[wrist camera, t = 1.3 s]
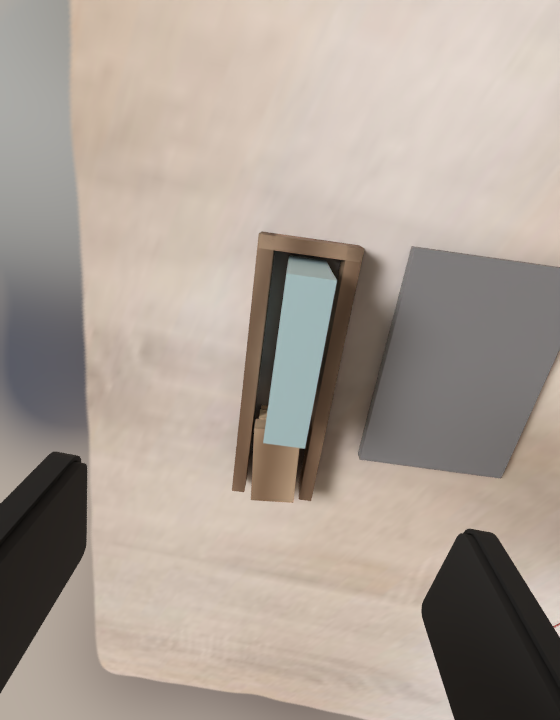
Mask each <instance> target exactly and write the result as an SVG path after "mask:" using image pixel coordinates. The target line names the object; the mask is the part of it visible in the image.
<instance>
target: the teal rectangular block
mask: <svg viewBox="0 0 560 720" xmlns="http://www.w3.org/2000/svg"><path fill="white" fill-rule="evenodd" d="M336 283H337V280H336V278H335V276H334V274H333V273H332V271H331V269H330V267H329V265H328V263H327V262H326V260H319V259H312V258H305V257H298V256H291V255H289V259H288V266H287V273H286V280H285V287H284V294H283V302H282V309H281V316H280V324H279V331H278V338H277V345H276V353H275V360H274V367H273V375H272V382H271V389H270V396H269V404H268V411H267V418H266V426H265V433H264V440H263V443H266V444H273V445H281V446H288V447H296V448H303V449H305V446H306V440H307V435H308V430H309V425H310V419H311V414H312V409H313V404H314V398H315V393H316V388H317V383H318V377H319V372H320V367H321V362H322V356H323V351H324V346H325V341H326V335H327V330H328V325H329V320H330V314H331V309H332V304H333V299H334V293H335V288H336Z"/></svg>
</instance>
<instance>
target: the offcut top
mask: <svg viewBox="0 0 560 720" xmlns="http://www.w3.org/2000/svg"><path fill="white" fill-rule="evenodd" d="M265 426H266V420H264V419H256V420H255V427H254V445H253V467H252V488H251V500H259V501H275V502H291V503H293V500H294V491H295V481H296V472H297V462H298V453H299V448H296V447H288V446H281V445H273V444H266V443H263V440H264V433H265Z"/></svg>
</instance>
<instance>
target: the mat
mask: <svg viewBox="0 0 560 720" xmlns="http://www.w3.org/2000/svg"><path fill="white" fill-rule="evenodd" d="M559 350H560V267H554V266H547V265H540V264H533V263H526V262H519V261H512V260H505V259H498V258H491V257H483V256H476V255H469V254H462V253H455V252H448V251H441V250H434V249H427V248H420V247H413V246H412V247H411V251H410V255H409V258H408V262H407V266H406V270H405V274H404V278H403V282H402V285H401V289H400V293H399V297H398V301H397V305H396V309H395V312H394V316H393V320H392V324H391V328H390V332H389V336H388V340H387V343H386V347H385V351H384V355H383V359H382V363H381V367H380V370H379V374H378V378H377V382H376V386H375V390H374V394H373V398H372V401H371V405H370V409H369V413H368V417H367V421H366V425H365V428H364V432H363V436H362V440H361V444H360V448H359V452H358V455H359V459H360V460H367V461H374V462H382V463H389V464H397V465H404V466H412V467H419V468H427V469H434V470H442V471H449V472H456V473H464V474H471V475H479V476H486V477H494V478H502V475H503V473H504V471H505V469H506V467H507V464H508V462H509V460H510V458H511V456H512V453H513V451H514V449H515V447H516V444H517V442H518V440H519V438H520V436H521V433H522V431H523V429H524V427H525V425H526V422H527V420H528V418H529V416H530V414H531V411H532V409H533V407H534V405H535V403H536V400H537V398H538V396H539V394H540V392H541V389H542V387H543V385H544V383H545V381H546V378H547V376H548V374H549V372H550V369H551V367H552V365H553V363H554V361H555V358H556V356H557V354H558V352H559Z"/></svg>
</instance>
